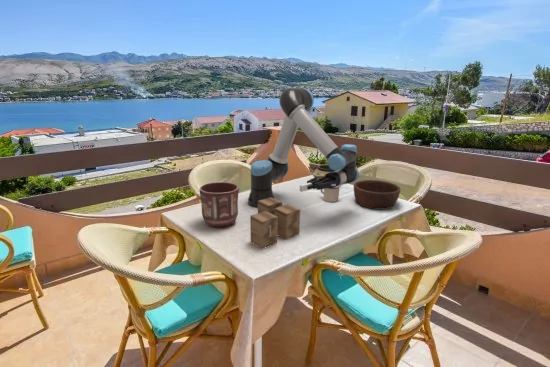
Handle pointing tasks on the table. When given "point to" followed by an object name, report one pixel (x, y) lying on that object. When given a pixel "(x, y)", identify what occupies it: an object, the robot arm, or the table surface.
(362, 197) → the wooden bowl
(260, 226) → the walnut block marked 1
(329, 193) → the teacup with lid
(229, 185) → the pottery
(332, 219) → the table surface
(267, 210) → the walnut block marked 2
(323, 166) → the ceramic bowl
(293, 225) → the brown wooden block
